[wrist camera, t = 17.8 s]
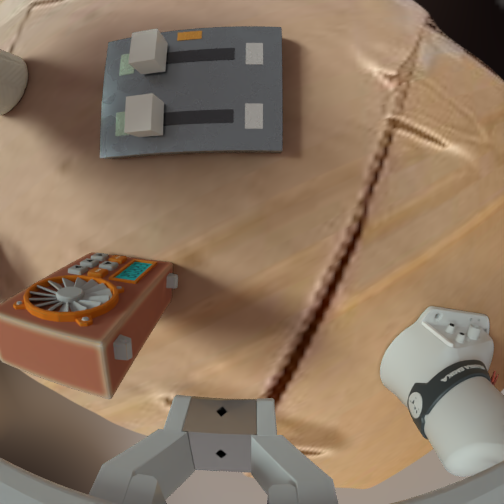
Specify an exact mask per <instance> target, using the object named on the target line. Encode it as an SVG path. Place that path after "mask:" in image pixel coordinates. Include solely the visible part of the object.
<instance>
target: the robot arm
mask: <svg viewBox="0 0 504 504" xmlns="http://www.w3.org/2000/svg"><path fill="white" fill-rule="evenodd" d="M436 314H437V316H436ZM435 316H436V317H435ZM493 352H494V343H493V340H492V338H491V337H490V336H489V318H488V317H487V316H486V315H485V314H480V313H473V312H467V311H460V310H454V309H448V308H442V307H435V306H430V307H428V308H427V309H426V310H425V311H424V312H423V313H422V314H421V316H420V317H419V318H418V320H417V321H416V322H415V323H414V324H412V325H411V326H410V327H408V328H407V329H405V330H404V331H403V332H402V333H400V334H399V335H398V336H397V337H396V338H395V339H394V341H393V342H392V343H391V344H390V346H389V347H388V349H387V350H386V352H385V354H384V356H383V359H382V362H381V366H380V377H381V381H382V383H383V385H384V386H385V387H386V388H387V389H388V390H390V391H391V392H392V393H393V394H395V395H396V396H397V397H398V398H399V400H400V401H401V402H402V403H403V404H404V405H405V406H406V407H407V408H408V410H409V412H410V414H411V417H412V419H413V421H414V423H415V424H416V426H417V428H418V429H419V431H420V432H421V434H422V435H423V437H424V438H426V439H428V440H429V442H430V443H431V445H432V447H433V449H434V450H435V452H436V454H437V455H438V457H439V459H440V460H441V463H442V464H443V466H444V468H445V469H446V470H447V471H448V472H449V473H451V474H453V475H456V476H462V477H463V476H470V477H468V478H465V479H463V480H461V481H458V482H456V483H453V484H451V485H448V486H446V487H443V488H440V489H437V490H434V491H431V492H429V493H426V494H423V495H419V496H416V497H413V498H409V499H406V500H403V501H399V502H395V503H391V504H504V395H503V394H502V393H501V392H500V391H499V390H498V389H497V388H495V387H494V385H495V383H496V380H497V378H498V375H499V374H497V376H496V378H495V373H496V371H494V372H493V375H492V377H491V379H490V376H489V373H488V370H489V367H490V364H491V361H492V357H493ZM494 379H495V380H494ZM195 470H210V471H231V472H251V474H252V475H253V477H254V478H255V479H256V481H257V482H258V483H259V485H260V486H261V487H262V489H263V490H264V491H265V492H266V494H267V495H268V500H267V504H338V500H337V496H336V492H335V487H334V483H333V479H332V478H331V477H329V476H328V475H327V474H326V473H325V472H323V471H322V470H321V469H320V468H319V467H317V466H316V465H315V464H314V463H313V462H312V461H310V460H309V459H308V458H307V457H306V456H305V455H304V454H302V453H301V452H300V451H299V450H298V449H297V448H296V447H295V446H294V445H292V444H291V443H290V442H289V441H288V440H287V439H286V438H285V437H284V436H283V435H277V428H276V417H275V405H274V399H273V398H265V399H257V400H256V399H223V398H209V397H196V396H183V395H176V396H175V397H174V399H173V402H172V405H171V408H170V411H169V414H168V417H167V420H166V423H165V426H164V429H158V430H156V431H155V432H153V433H152V434H150V435H149V436H147V437H146V438H144V439H143V440H141V441H140V442H138V443H136V444H135V445H134V446H132V447H130V448H129V449H127V450H125V451H124V452H123V453H121V454H119V455H117V456H116V457H114V458H112V459H111V460H109V461H107V462H106V463H104V464H103V465H102V467H101V469H100V471H99V473H98V475H97V478H96V480H95V482H94V484H93V486H92V489H91V491H90V493H89V495H87V494H84V493H81V492H78V491H75V490H72V489H69V488H67V487H64V486H61V485H59V484H56V483H54V482H51V481H48V480H46V479H44V478H41V477H39V476H37V475H35V474H32V473H30V472H28V471H26V470H24V469H21V468H19V467H17V466H15V465H13V464H11V463H9V462H8V461H6V460H4V459H2V458H0V504H167V503H166V501H165V500H166V499H167V498H168V497H169V496H170V495H171V494H172V493H173V492H174V491H175V490H176V489H177V488H178V487H179V486H180V485H181V484H182V483H183V482H184V481H185V480H186V479H187V478H188V477H189V476H190V475H191V474H192V473H193V472H194V471H195ZM471 475H472V476H471Z"/></svg>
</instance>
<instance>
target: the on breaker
mask: <svg viewBox="0 0 504 504" xmlns="http://www.w3.org/2000/svg"><path fill="white" fill-rule="evenodd" d="M163 117H164V102H163V101H162V100H161V99H159V98H158V97H157V96H155V95H154V94H153V93H150V94H142V95H135V96H128V97H126V105H125V126H124V133H127V134H130V135H133V136H136V137H147V136H159V135H163Z"/></svg>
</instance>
